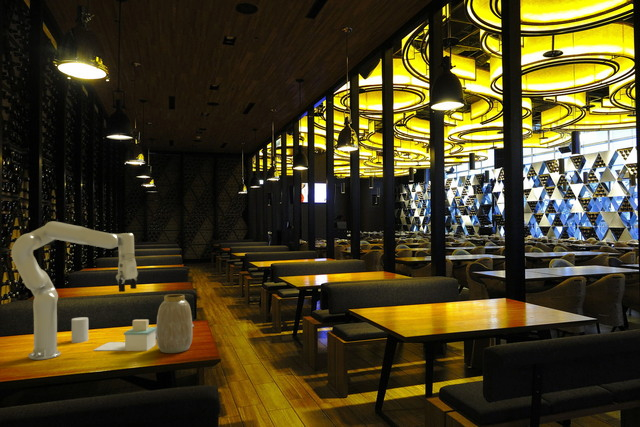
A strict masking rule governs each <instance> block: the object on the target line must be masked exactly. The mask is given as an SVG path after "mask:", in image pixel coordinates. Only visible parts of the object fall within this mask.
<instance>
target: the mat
mask: <svg viewBox="0 0 640 427" xmlns="http://www.w3.org/2000/svg"><path fill="white" fill-rule="evenodd" d="M93 351H94V352H103V351H104V352H120V351H122V352H123V351H125V341H124V342H122V341H115V342H114V341H110V342H107V343H106V342H105V344H102V345H100V346H97V347H96V348H94V349H93Z"/></svg>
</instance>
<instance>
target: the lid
mask: <svg viewBox="0 0 640 427" xmlns="http://www.w3.org/2000/svg"><path fill="white" fill-rule="evenodd" d="M149 323H150V320H149V319H133V320H132V328H131V329H128V330H127V331H125V332H123V336H124V335H148V334H150V333H151V332H153V331H155V330H156V329H157V326H154V327H153V326H152V327H149Z"/></svg>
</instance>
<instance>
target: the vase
mask: <svg viewBox="0 0 640 427" xmlns="http://www.w3.org/2000/svg"><path fill="white" fill-rule="evenodd" d="M163 298H164V300H163V301H162V302H161V303H160V305H159V308H158V311H157V316H156V327H157V330H156V335H157V339H156V345H157V347H158V349H159V351H160V352H161V353H164V354H176V353H182V352H186V351H187V350H189V349H190V347H191V344H192V342H193V327H192V324H193V315H192V310H191V306H190V303H189V302H188V301H187V300H186V299H185V298H186V297H185V294H181V293H178V294H177V293H175V294H174V293H173V294H166V295H164V297H163Z"/></svg>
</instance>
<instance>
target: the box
mask: <svg viewBox="0 0 640 427" xmlns="http://www.w3.org/2000/svg"><path fill="white" fill-rule="evenodd" d="M124 342H125V350H124V351H126V352H129V351H131V352H133V351H134V352H137V351H138V352H140V351H141V352H143V351H144V352H145V351H146V352H147V351H149V350H150V349H152V348H153V347H155V346H156V345H157V339H156V333H155V331H153V332H151V333H150V334H148V335H125V336H124Z"/></svg>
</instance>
